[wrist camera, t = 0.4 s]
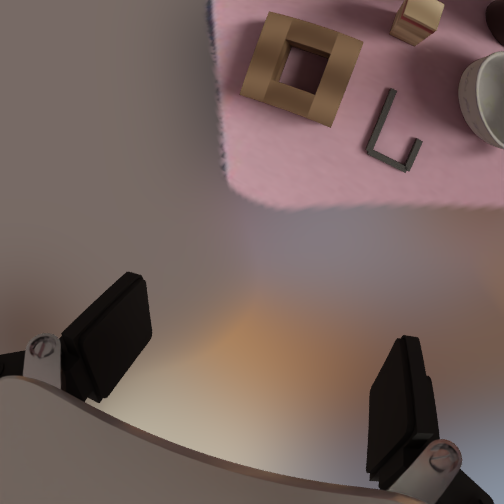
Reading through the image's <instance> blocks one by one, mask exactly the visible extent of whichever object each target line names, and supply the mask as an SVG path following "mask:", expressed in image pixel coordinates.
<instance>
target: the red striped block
mask: <svg viewBox="0 0 504 504" xmlns="http://www.w3.org/2000/svg"><path fill="white" fill-rule="evenodd" d="M443 8H444V4H442V3H441V2H439V1H437V0H405V1H404V2H403V4H402V5H401V7H400V9H399V10H398V12H397V14H396V16H395V19H394V22H393V25H392V28H391V31H390V33H389V34H390V35H392V36H394V37H396V38H399V39H401V40H403V41H405V42H407V43H409V44H411V45H413V46H416V45H417V44H419V43H420V42H421V41H423V40H424V39H425V38H427V37H428V36H430V35H431V34H433V33H434V32H435V31H436V30H437V27H438V24H439V21H440V18H441V15H442V11H443Z"/></svg>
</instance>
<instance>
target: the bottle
mask: <svg viewBox="0 0 504 504" xmlns="http://www.w3.org/2000/svg"><path fill="white" fill-rule="evenodd" d="M486 21H487V24H488V26H489V29H490V31H491V32H492V34H493V35H494V37H495V38H496V39H497V40H498V41H499V42H500V43H501V44H503V45H504V0H495V1H494V2H492V3H490V5H489V6H488V7H487V10H486Z"/></svg>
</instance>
